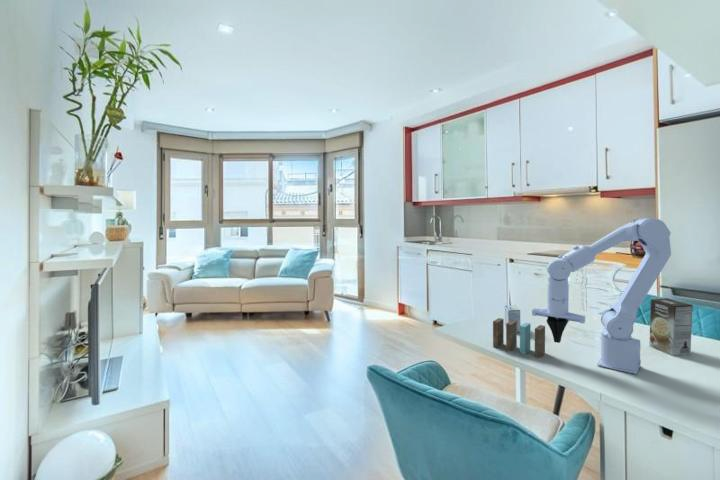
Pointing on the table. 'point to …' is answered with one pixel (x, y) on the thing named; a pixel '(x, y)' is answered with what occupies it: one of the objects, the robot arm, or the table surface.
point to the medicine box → (512, 315)
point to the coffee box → (671, 326)
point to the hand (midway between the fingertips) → (557, 341)
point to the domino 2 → (525, 338)
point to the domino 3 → (539, 341)
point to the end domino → (498, 332)
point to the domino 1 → (511, 335)
